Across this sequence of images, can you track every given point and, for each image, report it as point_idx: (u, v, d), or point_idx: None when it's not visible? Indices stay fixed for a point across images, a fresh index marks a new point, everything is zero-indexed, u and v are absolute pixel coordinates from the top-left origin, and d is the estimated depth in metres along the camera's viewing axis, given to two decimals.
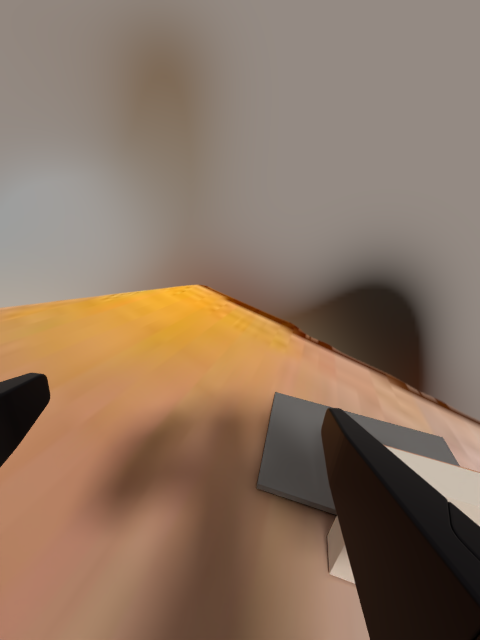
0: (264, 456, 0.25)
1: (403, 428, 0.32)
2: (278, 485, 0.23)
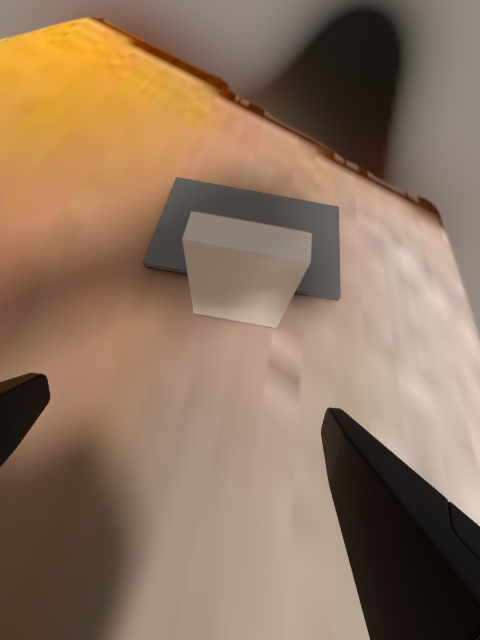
0: (153, 241, 0.28)
1: (302, 202, 0.32)
2: (161, 262, 0.27)
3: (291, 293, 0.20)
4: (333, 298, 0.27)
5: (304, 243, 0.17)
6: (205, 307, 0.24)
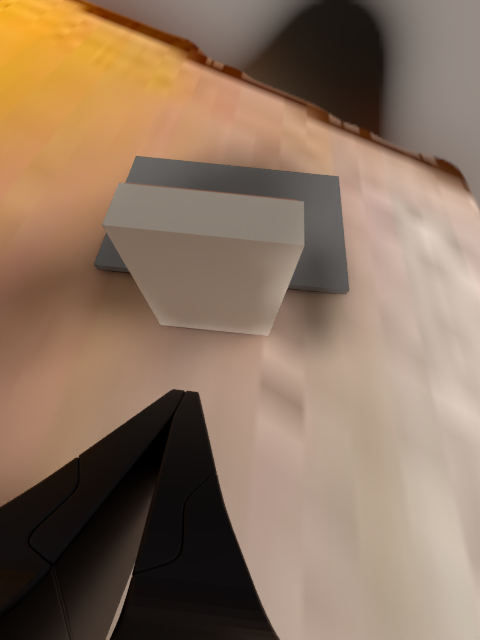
0: (107, 236, 0.22)
1: (293, 174, 0.26)
2: (117, 262, 0.21)
3: (281, 293, 0.14)
4: (340, 291, 0.21)
5: (293, 217, 0.11)
6: (173, 317, 0.18)
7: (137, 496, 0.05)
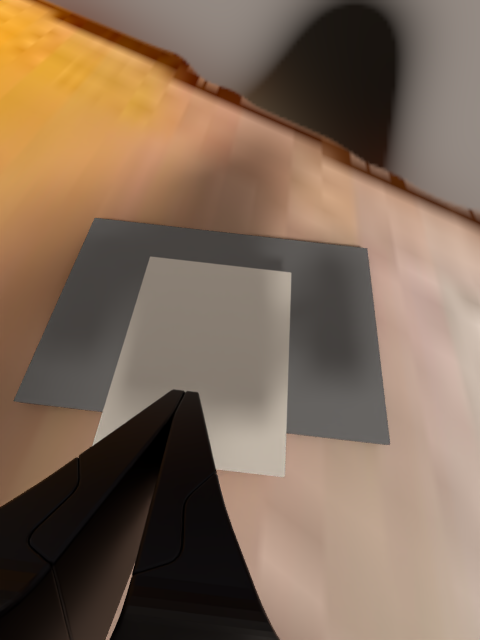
0: (39, 349, 0.15)
1: (306, 244, 0.19)
2: (49, 396, 0.14)
3: (285, 334, 0.13)
4: (376, 443, 0.14)
5: None
6: (129, 417, 0.11)
7: (137, 496, 0.05)
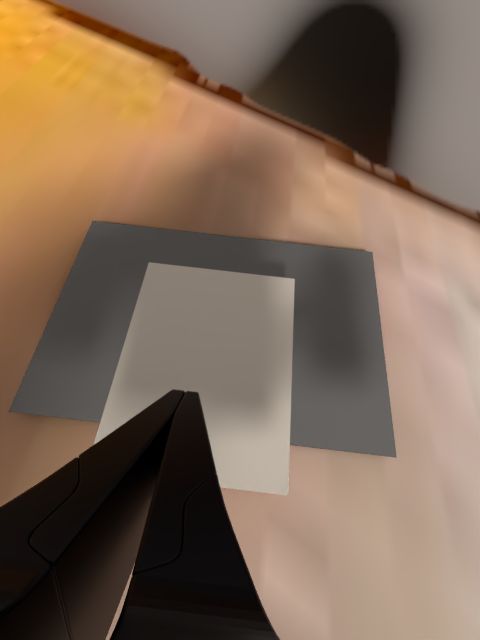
0: (35, 357, 0.15)
1: (309, 248, 0.19)
2: (45, 406, 0.14)
3: (288, 344, 0.13)
4: (382, 455, 0.14)
5: None
6: None
7: (137, 496, 0.05)
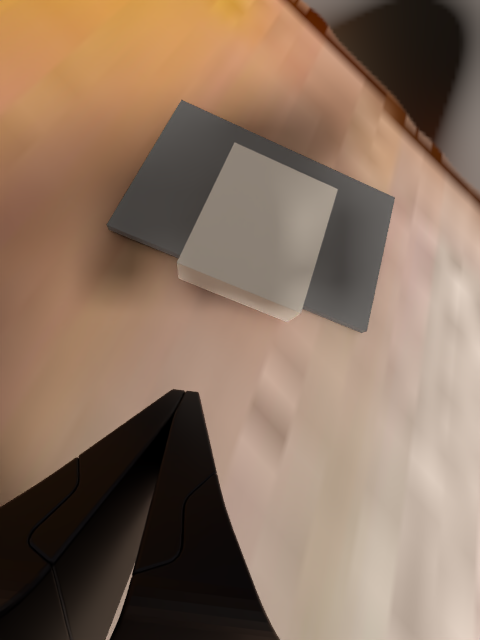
0: (127, 193, 0.19)
1: (349, 179, 0.23)
2: (133, 229, 0.18)
3: (322, 230, 0.18)
4: (357, 329, 0.20)
5: None
6: (205, 249, 0.16)
7: (137, 496, 0.05)
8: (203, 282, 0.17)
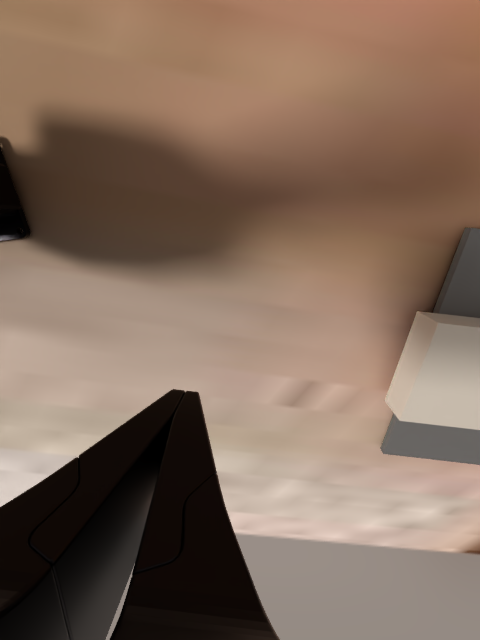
0: None
1: None
2: (467, 255, 0.18)
3: None
4: (383, 446, 0.25)
5: None
6: (454, 342, 0.18)
7: (137, 496, 0.05)
8: (417, 338, 0.19)
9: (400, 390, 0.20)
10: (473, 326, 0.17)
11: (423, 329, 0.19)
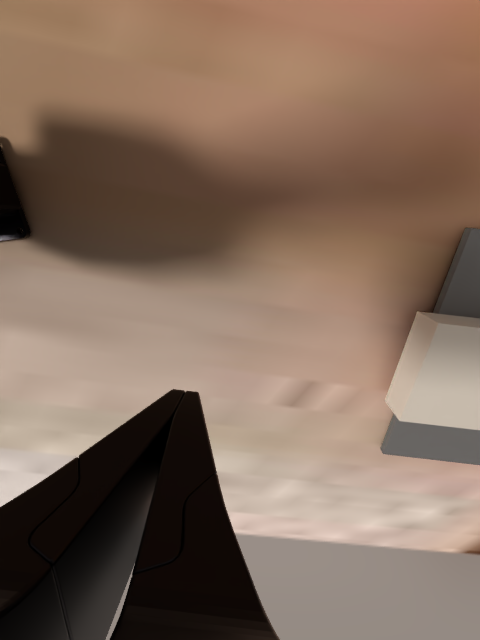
0: None
1: None
2: (467, 255, 0.18)
3: None
4: (383, 446, 0.25)
5: None
6: (454, 342, 0.18)
7: (137, 496, 0.05)
8: (417, 338, 0.19)
9: (400, 390, 0.20)
10: (473, 326, 0.17)
11: (423, 329, 0.19)
